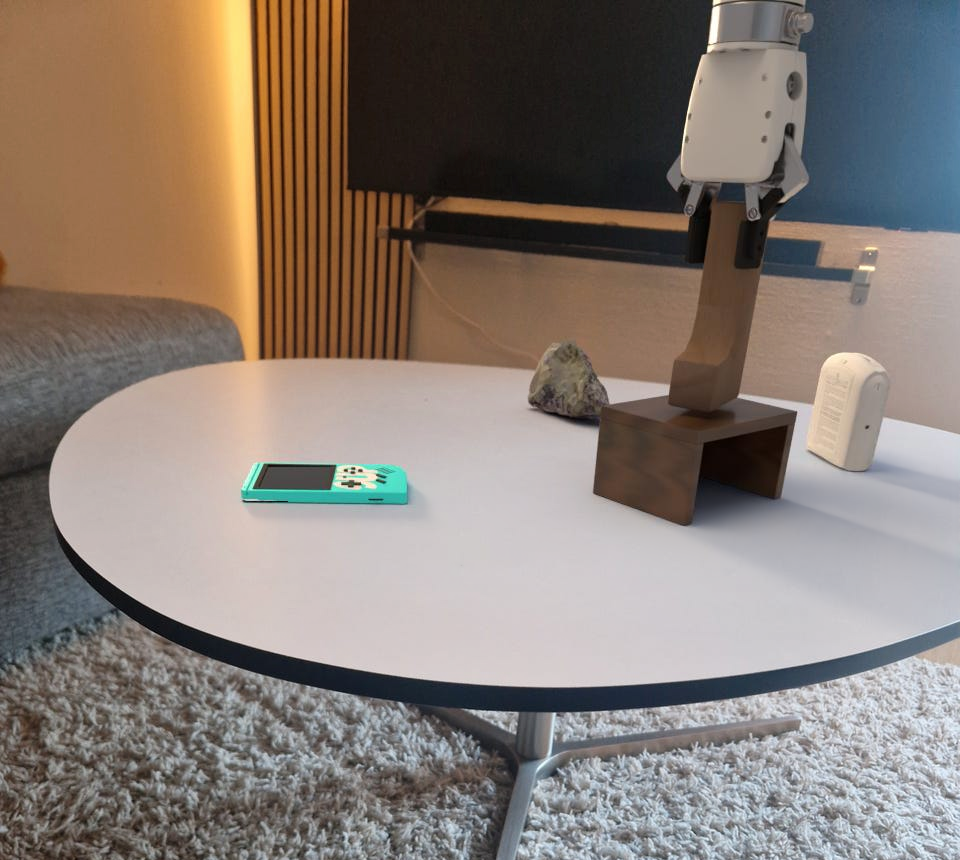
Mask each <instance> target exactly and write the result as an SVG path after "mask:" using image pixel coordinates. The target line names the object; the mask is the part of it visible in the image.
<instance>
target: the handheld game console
mask: <svg viewBox="0 0 960 860" xmlns="http://www.w3.org/2000/svg"><path fill="white" fill-rule="evenodd" d="M240 492H241V499H242V498H243V499H258V500H274V501H275V500H276V501H288V502H287V503H309V504H310V503H311V504H312V503H315V504H316V503H317V504H319V503H321V504H322V503H323V504H330V503H331V504H391V505H393V504H394V505H395V504H396V505H397V504H398V505H399V504H401V505H405V504H407V502H408V476H407V472H406V471H405V470H404V469H403V468H402V467H400V466H398V465H394V464H385V463H327V462H326V463H324V462H323V463H322V462H321V463H320V462H318V463H317V462H266V461H265V462H254V463H253V465H252V467H251V468H250V471H249V473H248V475H247V477H246V479H245V480H244V483H243V484H242V487H241V489H240Z"/></svg>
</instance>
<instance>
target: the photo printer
mask: <svg viewBox="0 0 960 860" xmlns="http://www.w3.org/2000/svg"><path fill="white" fill-rule="evenodd" d="M891 384H892V383H891V376H890V375H889V373H888V371H887V370H886V369H885V368H884V366H882V364H880V362H878V361H877V360H875V359H874V358H873V357H870V356H868V355H866V354H864V353H860V352H838V353H834V354H832V355H830V356H829V357H828V358H827V359H826V360H825V361H824V363H823V365H822V367H821V368H820V373H819V378H818V383H817V388H816V392H815V396H814V397H815V398H814V403H813V408H812V412H811V416H810V421H809V426H808V431H807V436H806V441H805V447H806V449H807V450H809V451H810V452H812V453H814V454H815V455H817V456H819V457H821V458H822V459H824V460H826V461H828V462H829V463H830V464H833V465H835V466H837V467H839V468H841V469H843V470H845V471H849V472H864V471H867V470H868V469H870V468H871V466H872V463H873V460H874V457H875V452H876V449H877V445H878V440H879V436H880V432H881V428H882V425H883V424H882V423H883V420H884V415H885V412H886V407H887V403H888V399H889V395H890V391H891Z"/></svg>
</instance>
